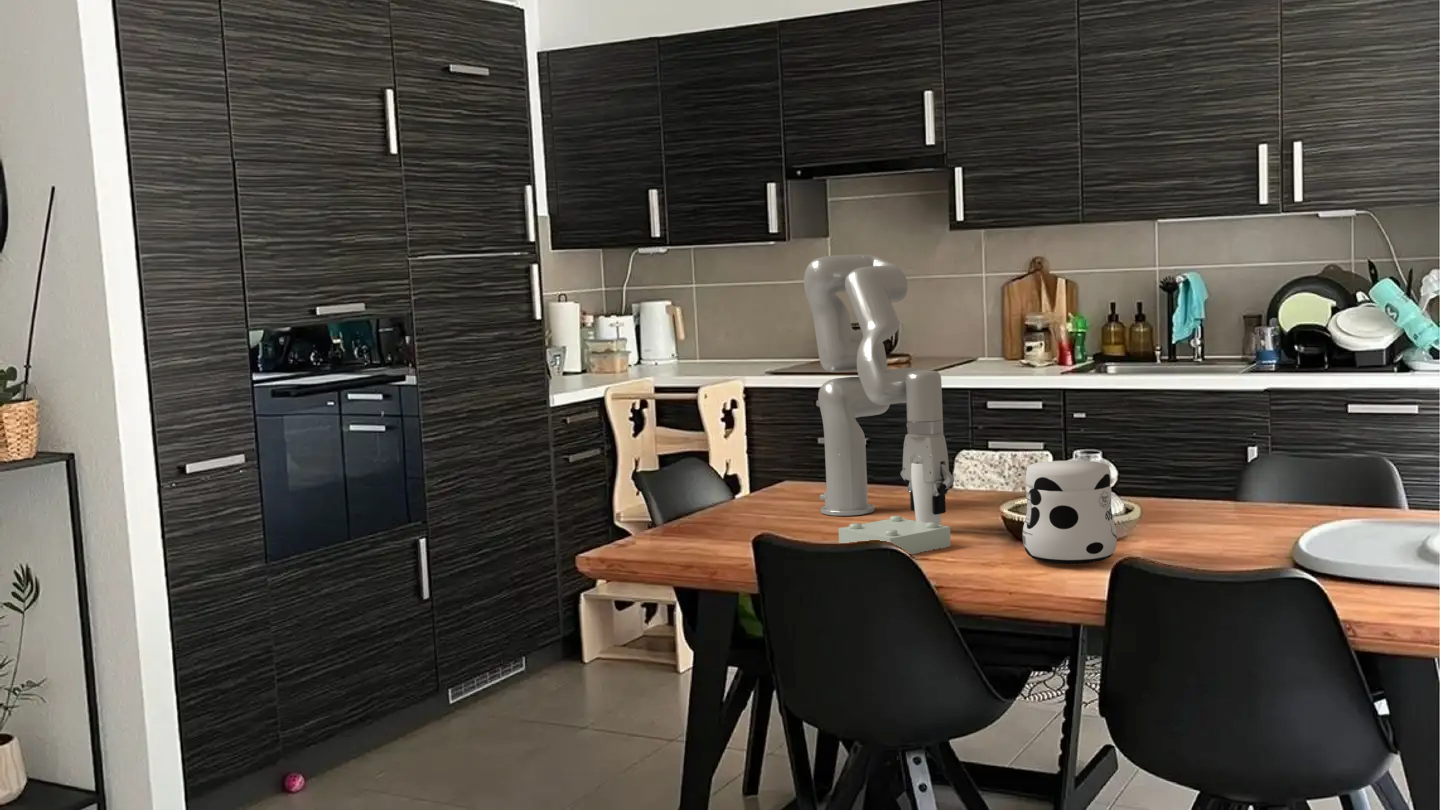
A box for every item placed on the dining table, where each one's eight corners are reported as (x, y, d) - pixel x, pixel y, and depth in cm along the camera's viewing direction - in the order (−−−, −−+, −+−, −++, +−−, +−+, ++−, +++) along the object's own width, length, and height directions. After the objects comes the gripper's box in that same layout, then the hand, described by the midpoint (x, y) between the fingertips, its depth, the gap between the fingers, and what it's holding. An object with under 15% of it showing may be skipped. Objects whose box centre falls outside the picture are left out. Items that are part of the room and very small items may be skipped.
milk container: (1137, 560, 260) (1135, 465, 258) (1072, 574, 251) (1070, 476, 249) (1067, 547, 274) (1065, 457, 273) (1004, 560, 265) (1001, 467, 263)
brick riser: (839, 547, 285) (838, 524, 284) (897, 536, 294) (896, 513, 293) (891, 558, 272) (890, 534, 271) (950, 546, 281) (949, 522, 280)
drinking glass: (941, 534, 293) (939, 464, 292) (909, 534, 295) (907, 464, 294) (947, 528, 299) (945, 459, 298) (916, 528, 302) (914, 459, 300)
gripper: (885, 427, 300) (888, 509, 302) (940, 433, 286) (943, 519, 288) (910, 424, 304) (913, 505, 306) (966, 429, 290) (969, 514, 292)
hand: (928, 511), depth 297 cm, fingers closed on drinking glass, 6 cm apart
